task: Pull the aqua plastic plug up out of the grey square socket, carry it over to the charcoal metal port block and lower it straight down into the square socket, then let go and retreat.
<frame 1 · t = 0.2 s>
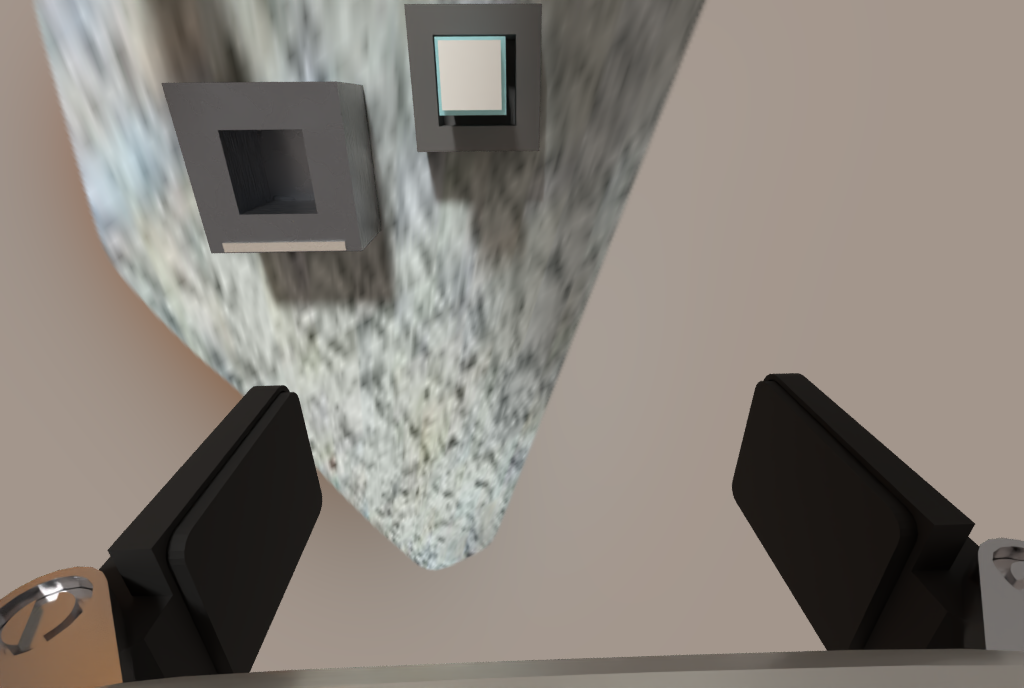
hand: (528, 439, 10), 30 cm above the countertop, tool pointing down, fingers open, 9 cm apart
plug: (477, 83, 33), point 1 cm above the countertop, touching grey square socket
grey square socket: (478, 84, 33), on the countertop
port block: (304, 163, 35), on the countertop
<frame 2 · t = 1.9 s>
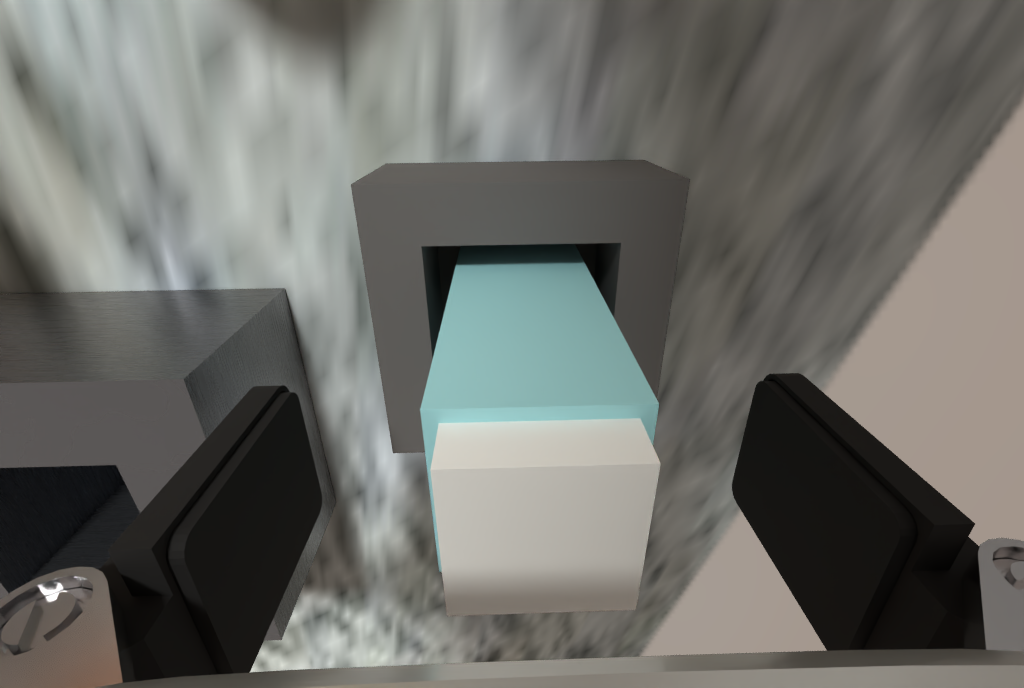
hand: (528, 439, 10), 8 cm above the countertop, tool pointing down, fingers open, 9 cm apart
plug: (517, 294, 16), point 1 cm above the countertop, touching grey square socket
grey square socket: (516, 284, 17), on the countertop
port block: (184, 411, 19), on the countertop
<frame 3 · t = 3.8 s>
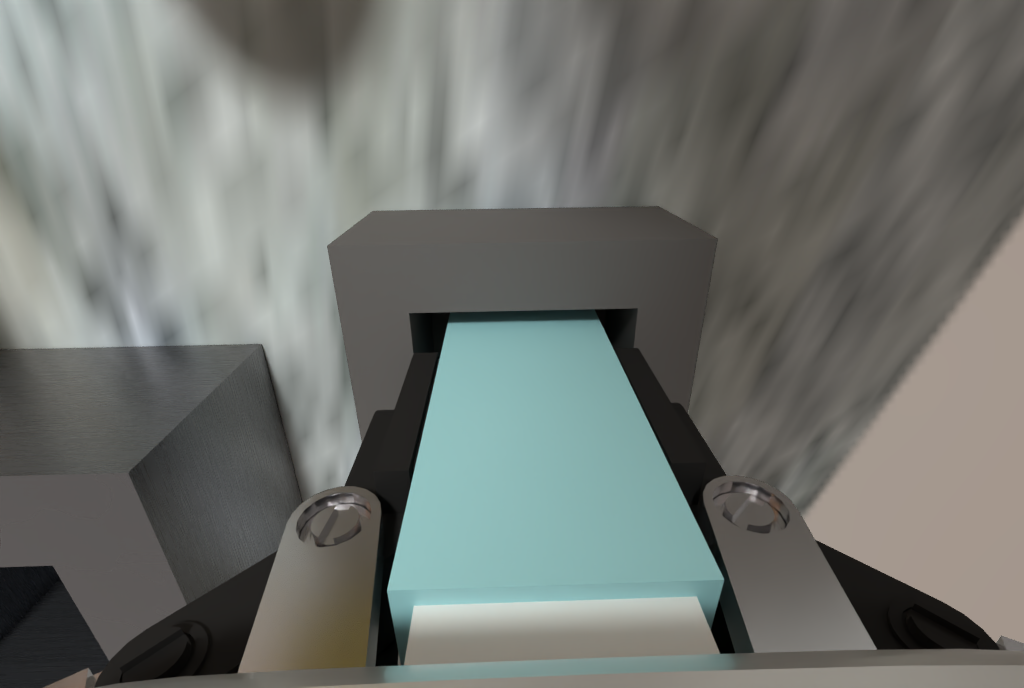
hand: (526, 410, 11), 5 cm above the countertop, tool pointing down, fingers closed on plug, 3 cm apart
plug: (520, 346, 14), point 1 cm above the countertop, touching gripper
grey square socket: (517, 338, 15), on the countertop
port block: (151, 474, 17), on the countertop
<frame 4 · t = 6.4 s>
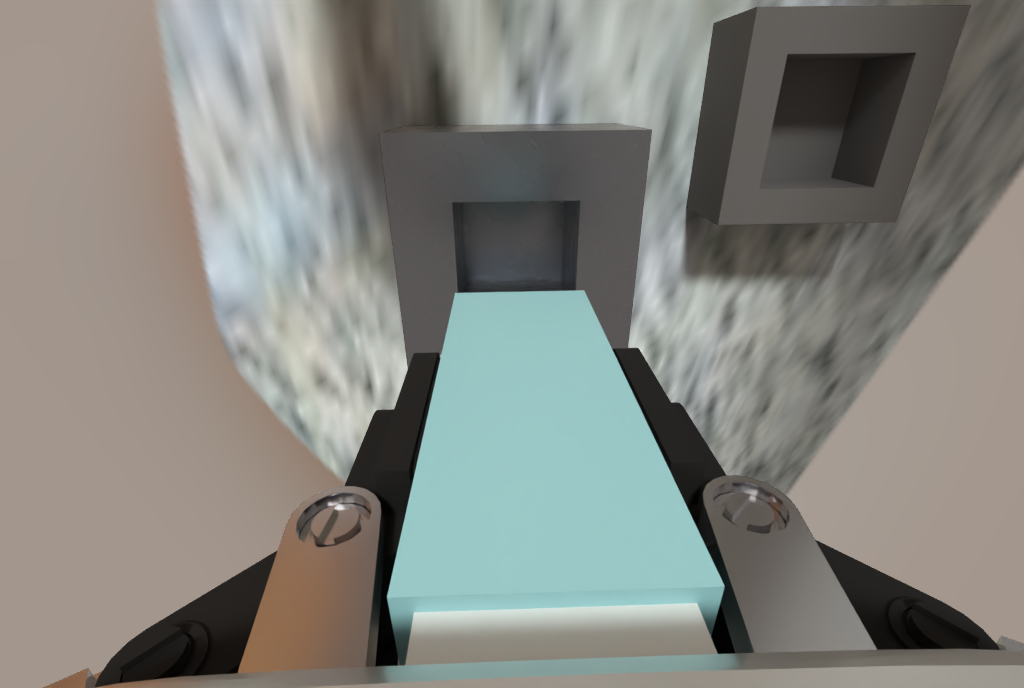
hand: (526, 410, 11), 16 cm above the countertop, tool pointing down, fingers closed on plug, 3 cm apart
plug: (520, 349, 14), point 13 cm above the countertop, touching gripper
grey square socket: (781, 121, 23), on the countertop
port block: (513, 229, 25), on the countertop
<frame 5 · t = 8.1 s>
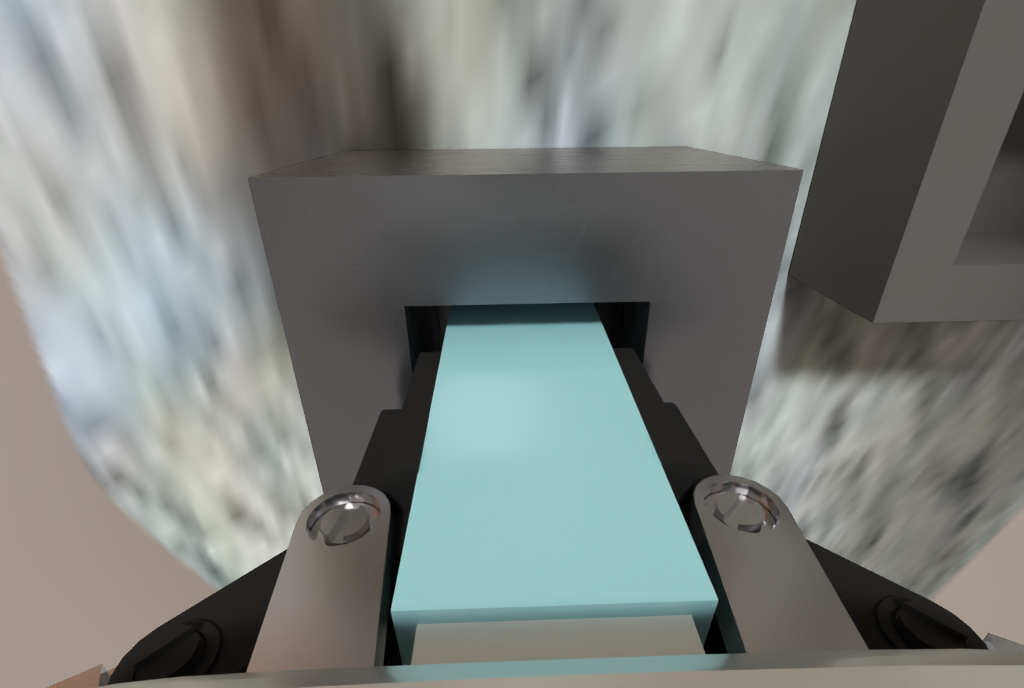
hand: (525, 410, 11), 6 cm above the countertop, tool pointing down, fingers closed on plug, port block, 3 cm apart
plug: (520, 340, 14), point 3 cm above the countertop, touching gripper
grey square socket: (954, 142, 14), on the countertop
port block: (517, 308, 16), on the countertop
when the fingers open (6 cm above the countertop, at t = 9.3 s): plug drops 2 cm, resting on port block.
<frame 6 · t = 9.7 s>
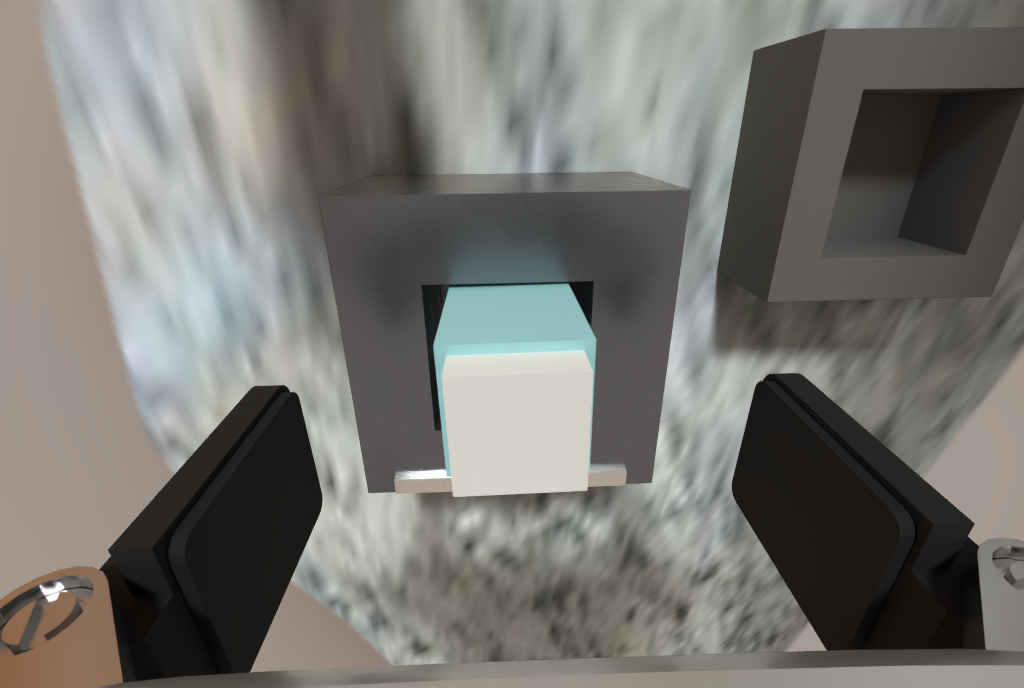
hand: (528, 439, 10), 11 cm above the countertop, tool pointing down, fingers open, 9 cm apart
plug: (506, 291, 19), point 1 cm above the countertop, touching port block
grey square socket: (835, 168, 19), on the countertop
port block: (504, 298, 20), on the countertop
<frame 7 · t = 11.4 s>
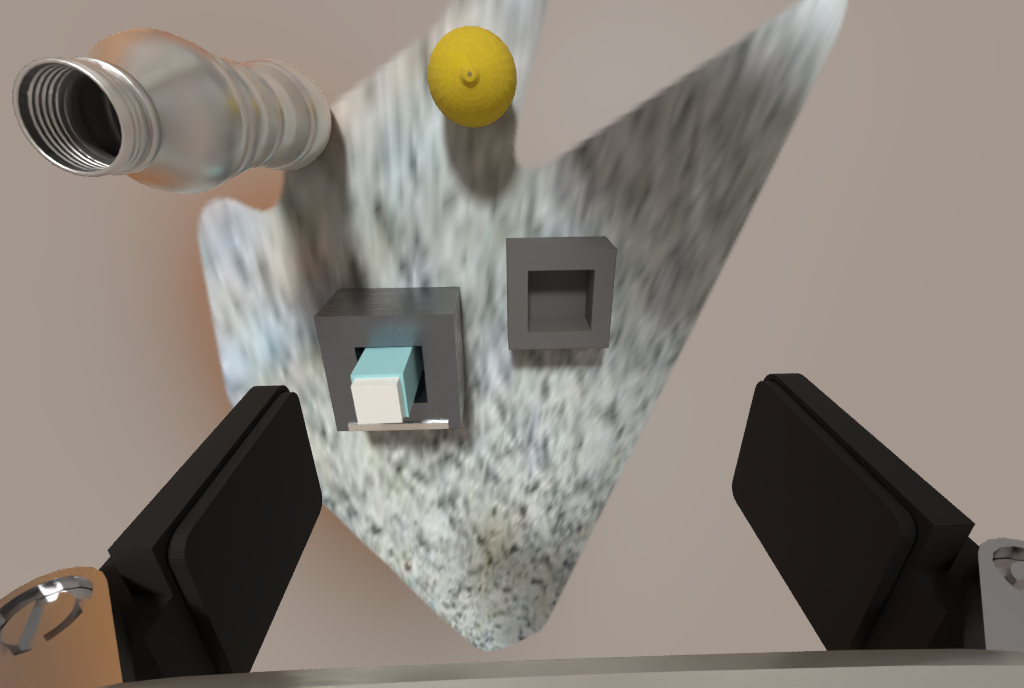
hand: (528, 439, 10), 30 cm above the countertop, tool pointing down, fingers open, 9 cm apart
plug: (403, 340, 41), point 1 cm above the countertop, touching port block
lemon: (475, 82, 34), on the countertop
plastic bottle: (295, 116, 34), on the countertop
grey square socket: (554, 284, 40), on the countertop
port block: (405, 342, 42), on the countertop
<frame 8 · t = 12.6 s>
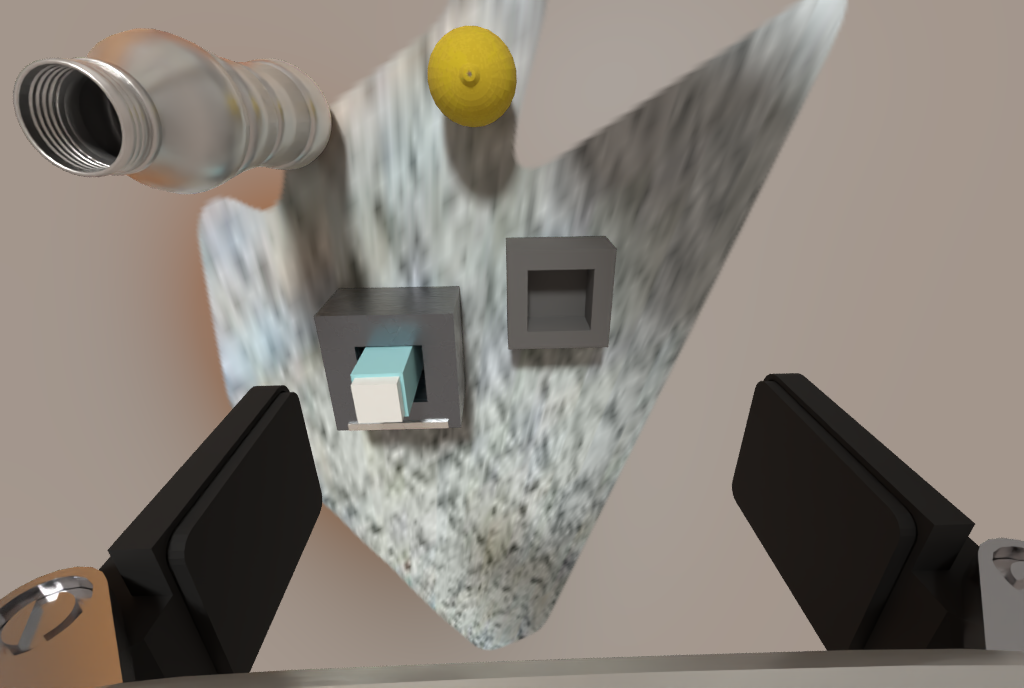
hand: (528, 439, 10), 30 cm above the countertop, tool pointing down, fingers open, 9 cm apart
plug: (403, 339, 41), point 1 cm above the countertop, touching port block
lemon: (475, 82, 34), on the countertop
plastic bottle: (295, 115, 35), on the countertop
grey square socket: (554, 284, 40), on the countertop
port block: (405, 341, 42), on the countertop
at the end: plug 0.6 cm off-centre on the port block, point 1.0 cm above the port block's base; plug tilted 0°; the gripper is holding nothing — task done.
